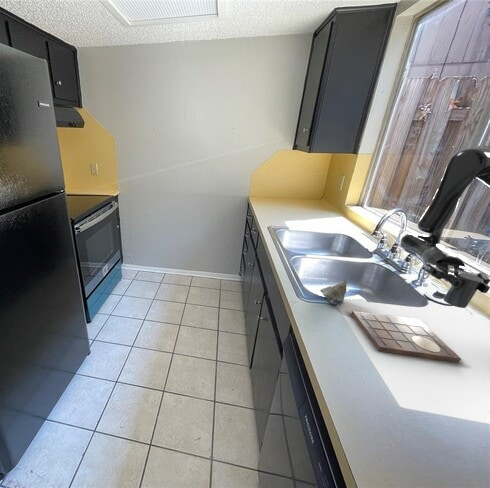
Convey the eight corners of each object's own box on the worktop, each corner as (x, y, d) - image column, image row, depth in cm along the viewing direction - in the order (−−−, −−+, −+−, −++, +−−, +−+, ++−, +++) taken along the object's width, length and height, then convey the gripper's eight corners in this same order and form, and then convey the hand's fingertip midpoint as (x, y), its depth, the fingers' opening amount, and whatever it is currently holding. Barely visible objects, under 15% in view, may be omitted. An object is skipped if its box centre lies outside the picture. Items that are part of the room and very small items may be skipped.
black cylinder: (457, 299, 78) (472, 273, 74) (471, 309, 73) (488, 282, 70) (439, 297, 78) (453, 271, 75) (452, 306, 74) (468, 280, 70)
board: (416, 323, 84) (419, 319, 84) (458, 362, 70) (461, 358, 69) (350, 314, 87) (352, 310, 86) (378, 350, 73) (380, 346, 72)
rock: (319, 286, 100) (346, 276, 93) (328, 299, 99) (356, 290, 93) (314, 300, 91) (344, 290, 85) (325, 314, 91) (355, 305, 84)
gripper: (418, 247, 86) (445, 270, 72) (475, 256, 81) (517, 282, 67) (409, 266, 89) (433, 292, 75) (463, 276, 84) (500, 305, 70)
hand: (472, 287), depth 71 cm, fingers closed on black cylinder, 5 cm apart
